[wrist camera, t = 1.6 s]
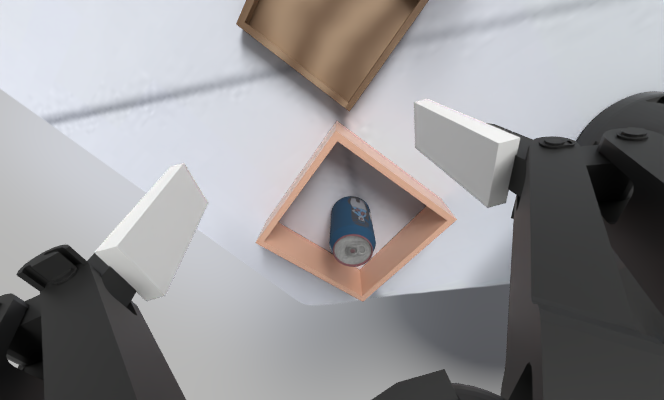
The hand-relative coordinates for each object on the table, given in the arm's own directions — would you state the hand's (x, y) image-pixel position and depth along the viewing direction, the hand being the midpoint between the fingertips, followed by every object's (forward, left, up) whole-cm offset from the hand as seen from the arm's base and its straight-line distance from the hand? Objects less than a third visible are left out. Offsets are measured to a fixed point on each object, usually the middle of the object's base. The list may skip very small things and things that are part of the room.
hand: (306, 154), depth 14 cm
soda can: (-14, +13, -27) cm, 33 cm away
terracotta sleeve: (-14, +13, -27) cm, 33 cm away
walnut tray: (+6, -9, -27) cm, 29 cm away
